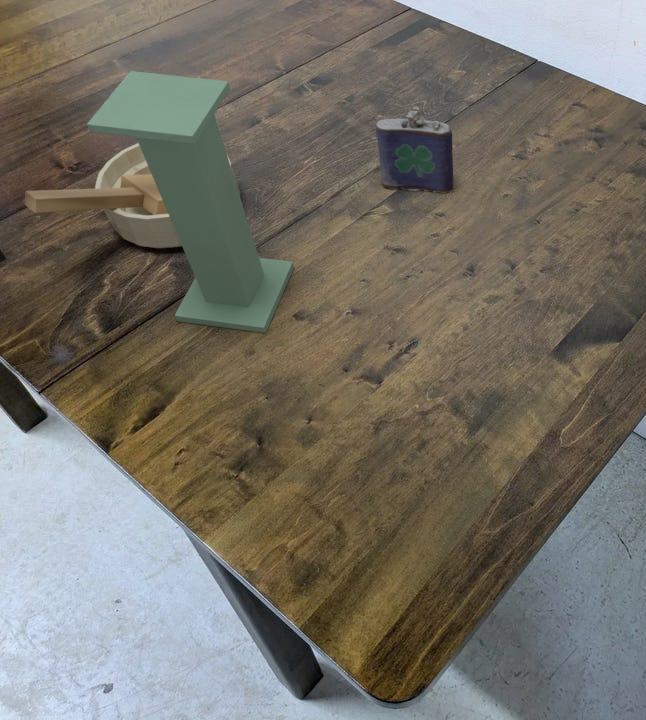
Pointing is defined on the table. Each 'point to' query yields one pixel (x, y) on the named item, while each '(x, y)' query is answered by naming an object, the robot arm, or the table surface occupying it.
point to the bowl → (137, 220)
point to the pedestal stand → (198, 196)
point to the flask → (415, 153)
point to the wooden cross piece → (100, 197)
